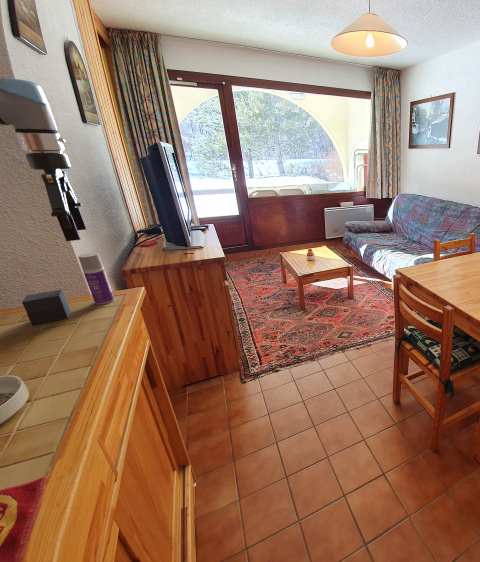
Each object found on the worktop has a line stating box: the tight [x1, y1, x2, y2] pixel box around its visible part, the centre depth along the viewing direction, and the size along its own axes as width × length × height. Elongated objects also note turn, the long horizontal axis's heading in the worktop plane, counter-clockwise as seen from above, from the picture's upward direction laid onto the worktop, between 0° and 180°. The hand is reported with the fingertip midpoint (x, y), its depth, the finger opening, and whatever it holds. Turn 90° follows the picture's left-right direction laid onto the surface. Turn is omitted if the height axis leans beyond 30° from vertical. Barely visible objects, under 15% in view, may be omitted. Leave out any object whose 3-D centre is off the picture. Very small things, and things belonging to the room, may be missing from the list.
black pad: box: [26, 300, 71, 327], centre depth 84 cm, size 7×5×4 cm
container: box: [77, 252, 116, 306], centre depth 92 cm, size 5×5×15 cm
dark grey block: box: [21, 288, 68, 315], centre depth 83 cm, size 7×5×4 cm
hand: (77, 234), depth 86 cm, fingers open, 13 cm apart
